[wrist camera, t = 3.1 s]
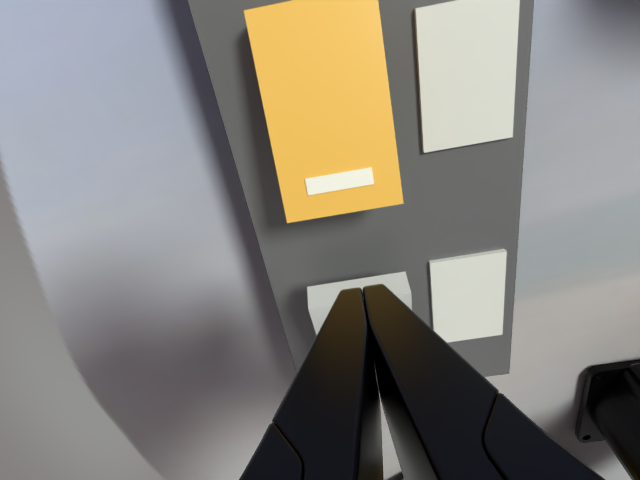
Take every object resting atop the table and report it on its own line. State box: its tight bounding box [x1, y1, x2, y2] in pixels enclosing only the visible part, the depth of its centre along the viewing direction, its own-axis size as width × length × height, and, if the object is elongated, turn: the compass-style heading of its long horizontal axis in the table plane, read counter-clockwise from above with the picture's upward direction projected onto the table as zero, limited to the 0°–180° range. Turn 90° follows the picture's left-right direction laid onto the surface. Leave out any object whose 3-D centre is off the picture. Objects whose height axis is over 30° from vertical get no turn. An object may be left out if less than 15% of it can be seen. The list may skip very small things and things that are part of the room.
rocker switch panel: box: [188, 0, 534, 390], centre depth 17 cm, size 20×10×4 cm, turn 10°
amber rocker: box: [244, 0, 404, 223], centre depth 12 cm, size 6×4×1 cm, turn 10°
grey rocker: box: [307, 272, 412, 377], centre depth 17 cm, size 6×4×1 cm, turn 10°
